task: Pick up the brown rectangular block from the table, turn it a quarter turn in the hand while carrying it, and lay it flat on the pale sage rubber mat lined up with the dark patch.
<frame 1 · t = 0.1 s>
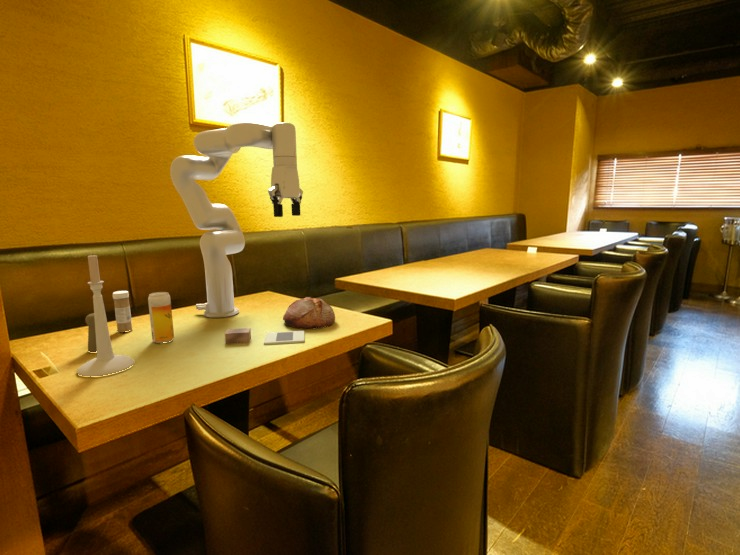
hand: (287, 216, 142), 37 cm above the table, tool pointing down, fingers open, 9 cm apart
mat: (284, 338, 134), on the table
brown rectangular block: (238, 341, 131), on the table
bread: (309, 323, 150), on the table
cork: (100, 350, 125), on the table
candlestick: (106, 368, 111), on the table
sprinkles bottle: (125, 331, 142), on the table
beer can: (163, 341, 132), on the table
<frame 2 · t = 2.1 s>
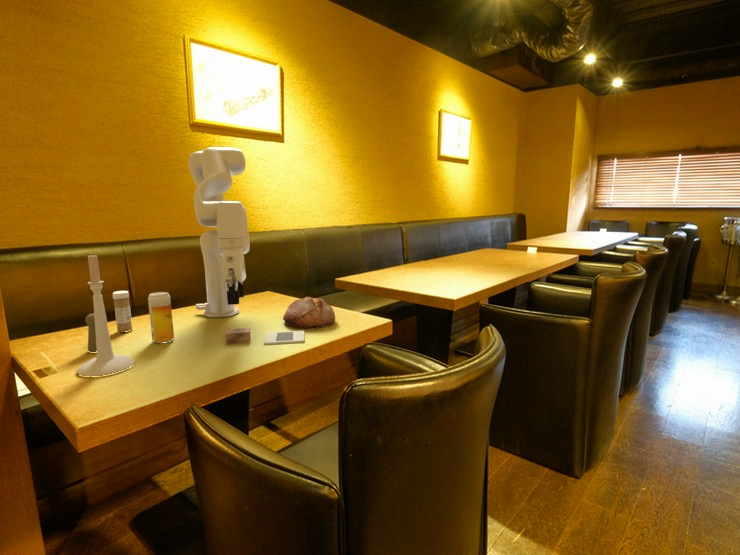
hand: (236, 300, 129), 13 cm above the table, tool pointing down, fingers open, 9 cm apart
nothing on the table moved.
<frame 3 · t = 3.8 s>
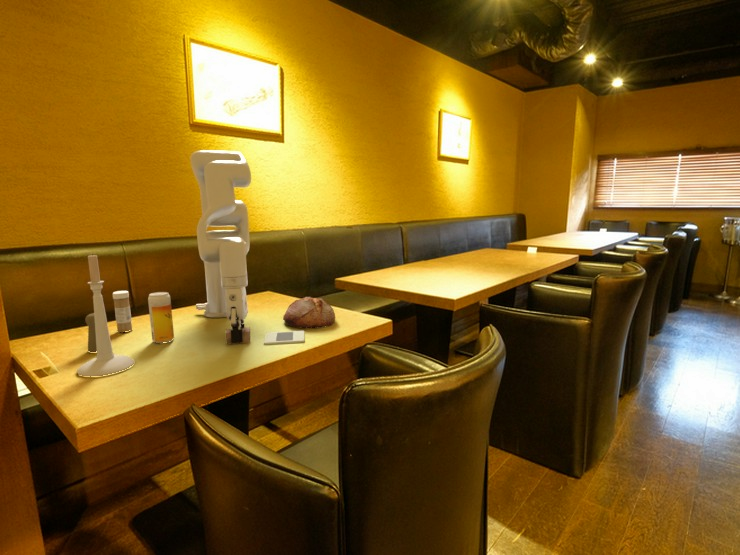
hand: (238, 338, 131), 1 cm above the table, tool pointing down, fingers closed on brown rectangular block, 4 cm apart
brown rectangular block: (238, 341, 131), on the table, touching gripper
everything else where it was.
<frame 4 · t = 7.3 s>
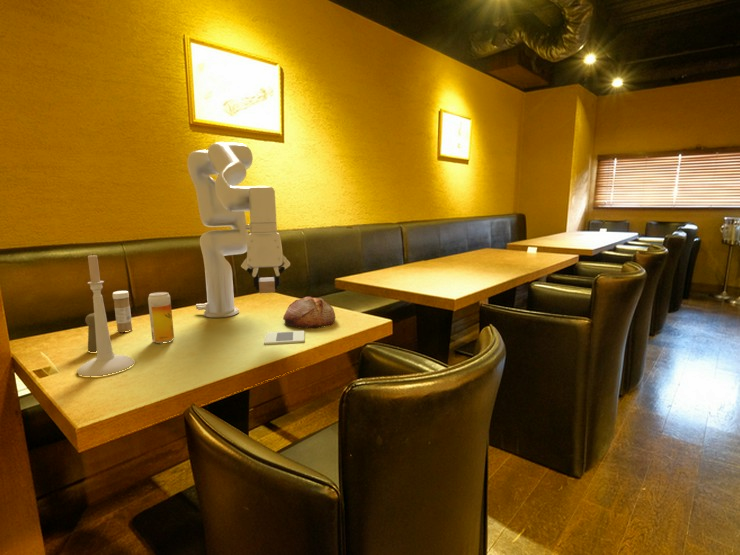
hand: (267, 288, 130), 16 cm above the table, tool pointing down, fingers closed on brown rectangular block, 4 cm apart
brown rectangular block: (267, 290, 130), point 15 cm above the table, touching gripper
everything else where it was.
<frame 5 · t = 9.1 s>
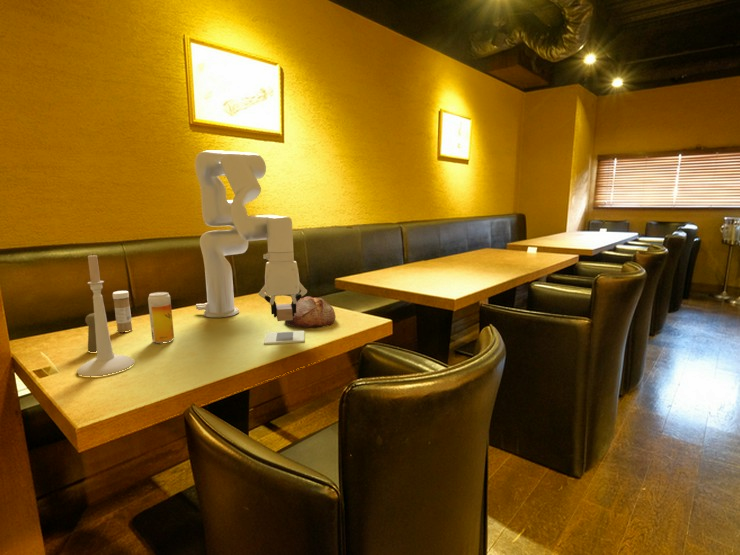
hand: (284, 315, 132), 7 cm above the table, tool pointing down, fingers closed on brown rectangular block, 4 cm apart
brown rectangular block: (284, 317, 132), point 7 cm above the table, touching gripper
everything else where it was.
when the fingers open (3 cm above the table, at t = 10.8 s): brown rectangular block drops 1 cm, resting on mat.
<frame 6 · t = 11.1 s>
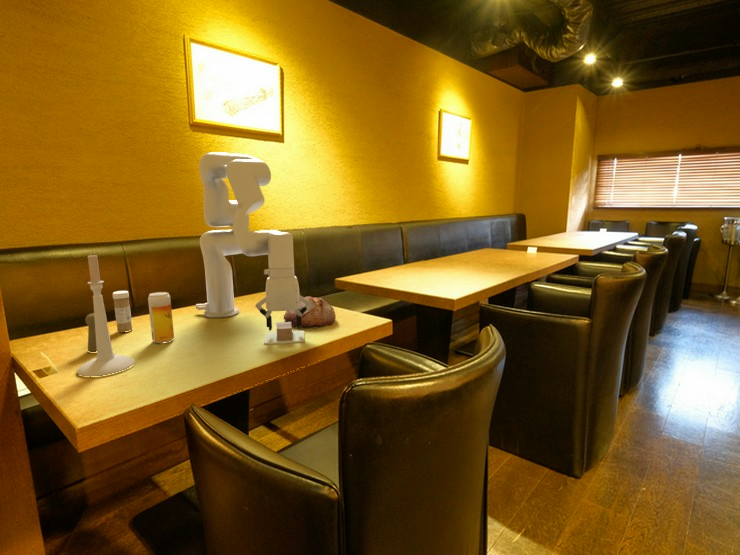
hand: (284, 328, 133), 3 cm above the table, tool pointing down, fingers open, 8 cm apart
brown rectangular block: (284, 336, 133), point 1 cm above the table, touching mat
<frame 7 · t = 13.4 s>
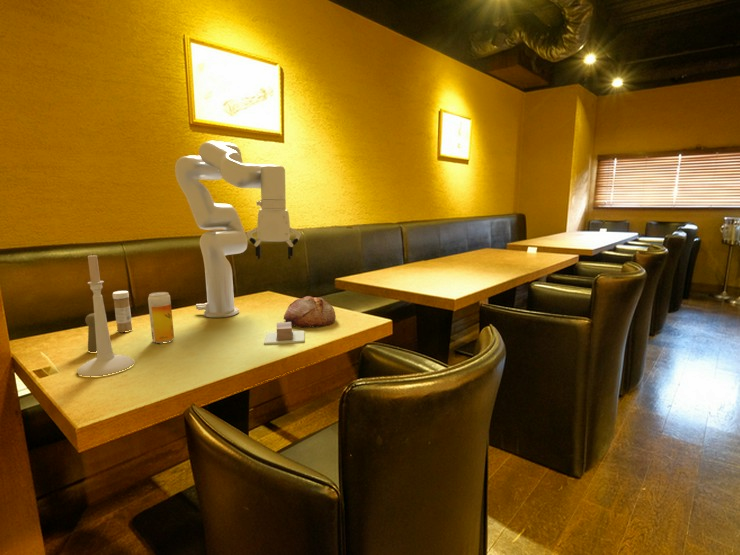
hand: (274, 258, 139), 24 cm above the table, tool pointing down, fingers open, 9 cm apart
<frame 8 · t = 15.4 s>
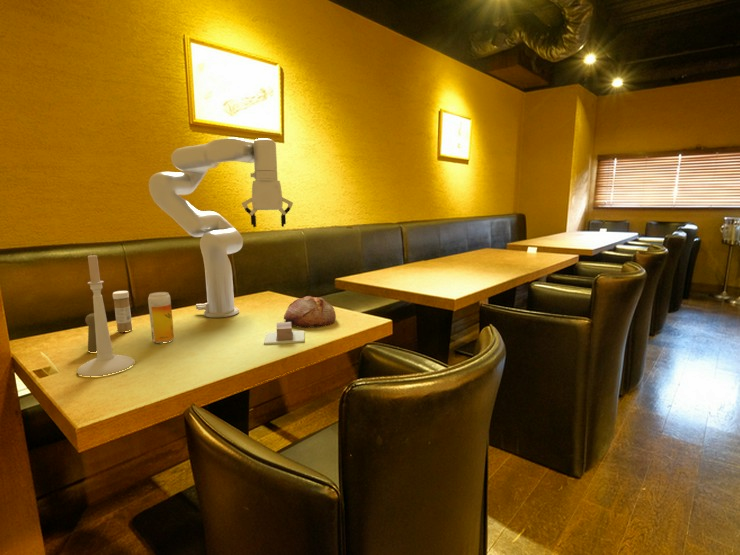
hand: (268, 226, 150), 33 cm above the table, tool pointing down, fingers open, 9 cm apart
at the end: brown rectangular block inside the target area on the mat (0.1 cm from its centre), point 0.7 cm above the mat's base; brown rectangular block tilted 0°; the gripper is holding nothing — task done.
